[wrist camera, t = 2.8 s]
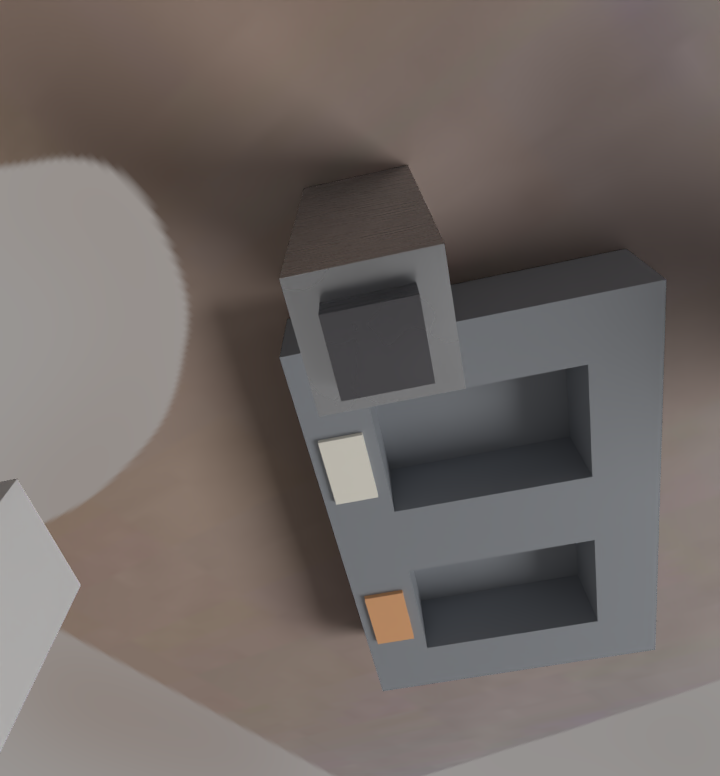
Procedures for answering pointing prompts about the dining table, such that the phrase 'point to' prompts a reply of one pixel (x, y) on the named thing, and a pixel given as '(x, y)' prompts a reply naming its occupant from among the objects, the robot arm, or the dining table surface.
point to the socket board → (508, 480)
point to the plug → (371, 294)
